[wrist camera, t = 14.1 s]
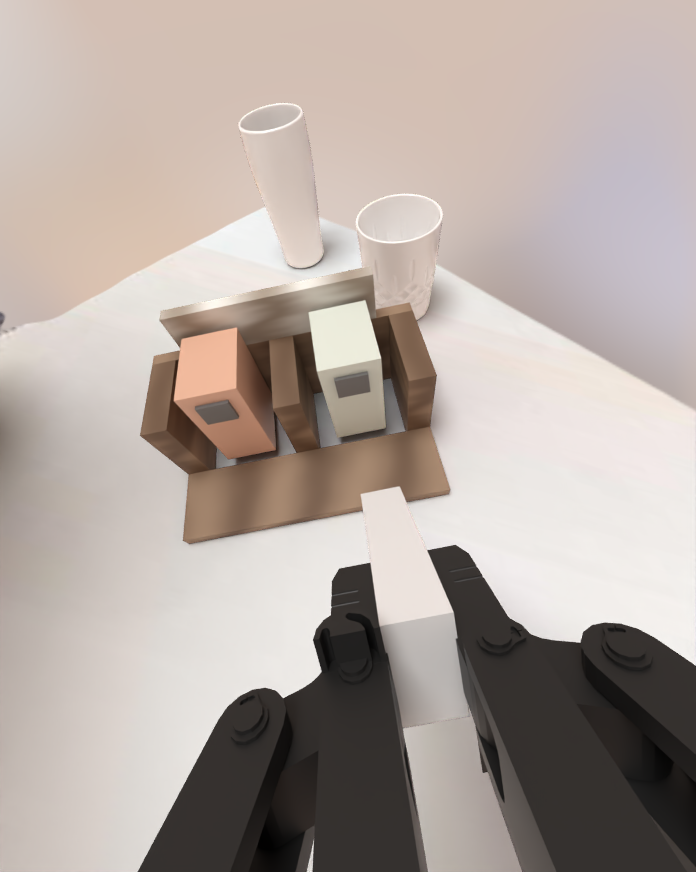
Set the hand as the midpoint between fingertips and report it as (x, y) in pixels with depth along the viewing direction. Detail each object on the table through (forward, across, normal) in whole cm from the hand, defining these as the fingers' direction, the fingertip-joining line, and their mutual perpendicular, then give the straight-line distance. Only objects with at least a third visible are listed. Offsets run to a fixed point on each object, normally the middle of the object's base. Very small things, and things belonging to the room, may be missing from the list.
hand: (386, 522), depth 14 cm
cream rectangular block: (+20, 0, +1) cm, 20 cm away
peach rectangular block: (+20, -10, +1) cm, 23 cm away
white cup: (+31, +7, +10) cm, 33 cm away
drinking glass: (+40, -3, +19) cm, 45 cm away
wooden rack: (+19, -5, -2) cm, 20 cm away
